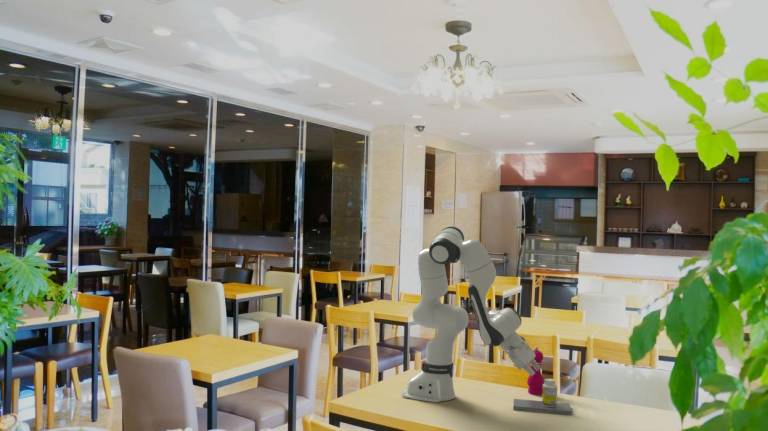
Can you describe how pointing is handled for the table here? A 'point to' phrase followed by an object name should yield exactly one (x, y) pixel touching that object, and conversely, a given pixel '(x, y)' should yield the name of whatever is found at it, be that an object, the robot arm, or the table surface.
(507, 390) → the table surface
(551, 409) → the slate board
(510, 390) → the table surface
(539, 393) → the pepper mill
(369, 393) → the table surface
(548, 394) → the supplement bottle
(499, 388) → the table surface
